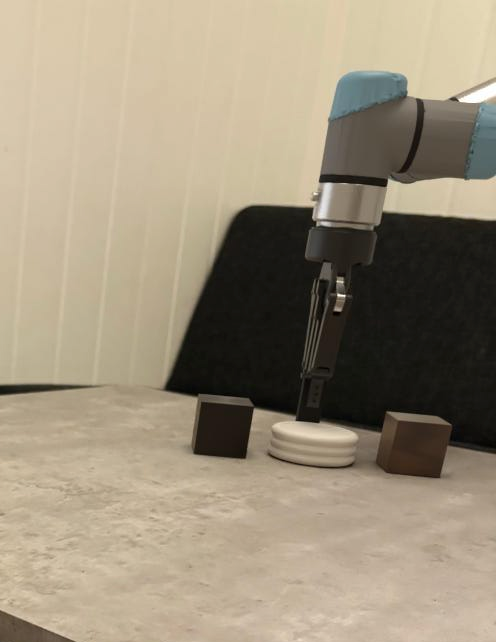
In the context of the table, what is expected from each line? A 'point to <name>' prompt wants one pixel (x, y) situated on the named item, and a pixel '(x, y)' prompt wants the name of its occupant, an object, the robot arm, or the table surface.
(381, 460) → the dark brown wooden cube
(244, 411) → the dark brown cube
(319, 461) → the white stacked disc
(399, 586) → the table surface
